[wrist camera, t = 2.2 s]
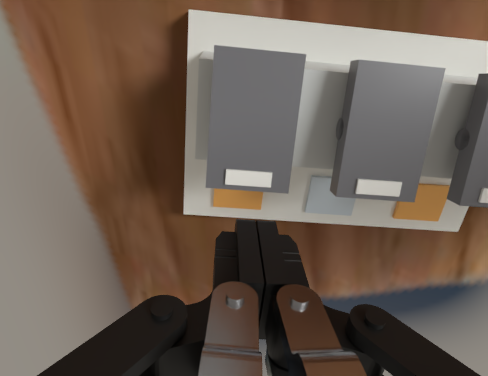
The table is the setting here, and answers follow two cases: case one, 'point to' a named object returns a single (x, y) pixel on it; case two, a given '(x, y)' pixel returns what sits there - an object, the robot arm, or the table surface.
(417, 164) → the rocker middle
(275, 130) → the block
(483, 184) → the rocker
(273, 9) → the table surface
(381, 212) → the switch unit
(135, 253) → the table surface
